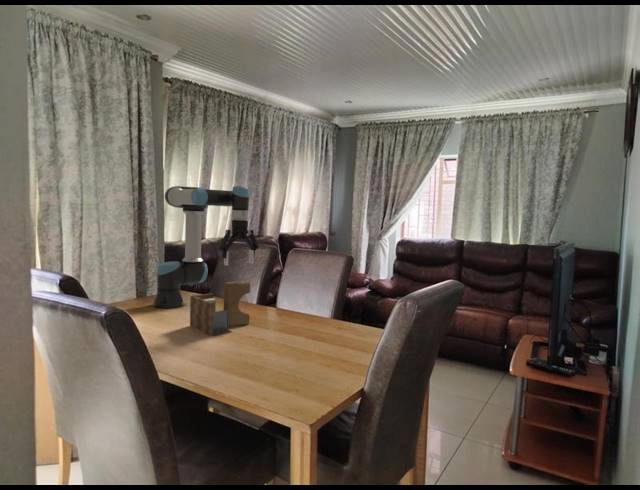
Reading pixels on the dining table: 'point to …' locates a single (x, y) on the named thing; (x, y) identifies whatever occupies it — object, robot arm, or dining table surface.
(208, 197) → the robot arm
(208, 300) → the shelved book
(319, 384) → the dining table surface
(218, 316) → the bookend
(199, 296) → the wooden grain block
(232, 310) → the decorative block
